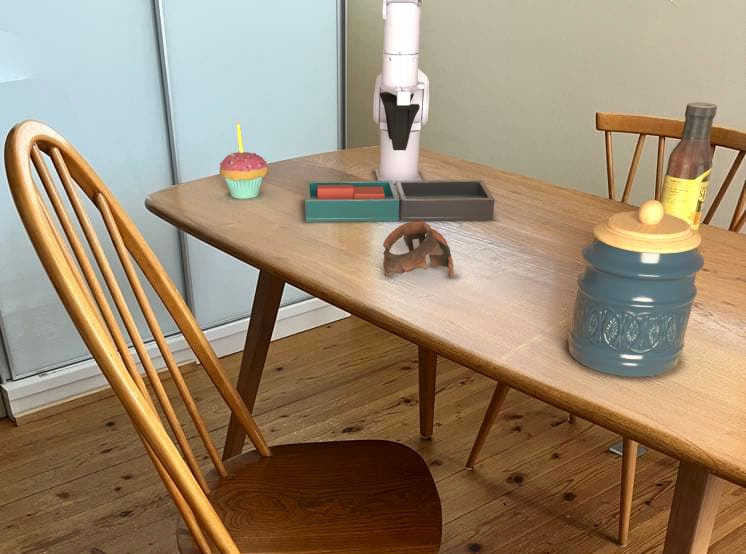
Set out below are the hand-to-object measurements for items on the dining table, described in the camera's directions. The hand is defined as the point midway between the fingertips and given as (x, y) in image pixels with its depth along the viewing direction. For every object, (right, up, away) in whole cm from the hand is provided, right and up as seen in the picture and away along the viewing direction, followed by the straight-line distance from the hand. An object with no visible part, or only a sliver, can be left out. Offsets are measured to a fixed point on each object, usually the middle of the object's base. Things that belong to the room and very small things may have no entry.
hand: (397, 144), depth 150 cm
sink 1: (-8, -11, +1) cm, 13 cm away
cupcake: (-26, -5, +9) cm, 28 cm away
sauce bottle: (+41, -22, -13) cm, 48 cm away
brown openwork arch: (+2, -28, -23) cm, 36 cm away
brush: (-8, -10, +1) cm, 13 cm away
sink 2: (+8, -10, +2) cm, 13 cm away
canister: (+24, -44, -44) cm, 67 cm away
